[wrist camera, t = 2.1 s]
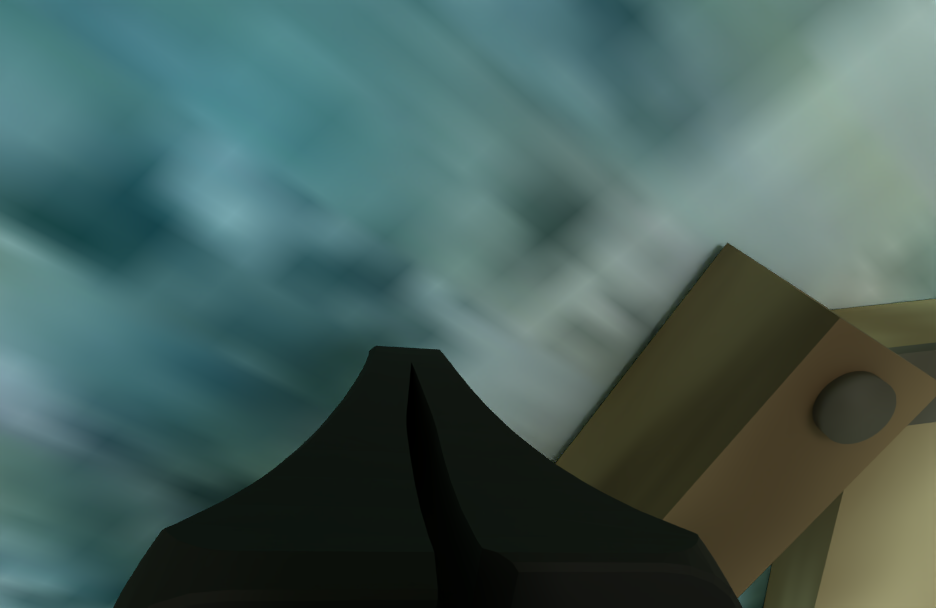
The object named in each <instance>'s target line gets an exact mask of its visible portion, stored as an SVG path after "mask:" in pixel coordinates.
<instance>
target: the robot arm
mask: <svg viewBox="0 0 936 608" xmlns="http://www.w3.org/2000/svg"><path fill="white" fill-rule="evenodd" d="M114 608H742V606H741V604H740V602H739V600H738V599H737V597H736V595H735V593H734V591H733V590H732V588H731V586H730V584H729V583H728V581H727V579H726V578H725V576H724V574H723V572H722V571H721V569H720V567H719V566H718V564H717V562H716V561H715V559H714V558H713V556H712V555H711V553H710V552H709V550H708V549H707V547H706V546H705V544H704V543H703V541H702V540H701V539H700V537H699V536H698V534H696V533H694V532H691V531H689V530H686V529H684V528H681V527H679V526H676V525H674V524H671V523H669V522H667V521H664V520H662V519H659V518H657V517H654V516H652V515H649V514H647V513H644V512H642V511H640V510H637V509H635V508H633V507H631V506H629V505H627V504H625V503H623V502H621V501H619V500H617V499H615V498H613V497H611V496H609V495H607V494H605V493H603V492H601V491H600V490H598V489H596V488H594V487H592V486H591V485H589V484H587V483H585V482H583V481H582V480H580V479H579V478H577V477H575V476H574V475H572V474H571V473H569V472H568V471H566V470H564V469H563V468H561V467H560V466H558V465H556V464H555V463H554V462H552V461H551V460H549V459H548V458H546V457H545V456H544V455H542V454H541V453H540V452H538V451H537V450H536V449H535V448H533V447H532V446H531V445H529V444H528V443H527V442H526V441H524V440H523V439H522V438H520V437H519V436H518V435H517V434H516V433H515V432H513V431H512V430H511V429H510V428H509V427H508V426H507V425H506V424H505V423H504V422H503V421H502V420H500V419H499V418H498V417H497V416H496V415H495V414H494V413H493V412H492V411H491V410H490V409H489V408H488V407H487V406H486V405H485V404H484V403H483V402H482V400H481V399H480V398H479V397H478V396H477V395H476V394H475V393H474V391H473V390H472V389H471V388H470V387H469V386H468V384H467V383H466V382H465V381H464V379H463V378H462V377H461V376H460V375H459V373H458V372H457V371H456V369H455V368H454V367H453V366H452V364H451V363H450V362H449V361H448V359H447V358H446V357H445V356H444V354H443V353H442V352H441V351H440V350H437V349H420V348H403V347H386V346H375V347H374V348H372V349H371V350H370V351H369V355H368V358H367V361H366V363H365V365H364V367H363V369H362V371H361V373H360V374H359V376H358V378H357V379H356V381H355V382H354V384H353V386H352V387H351V389H350V390H349V392H348V393H347V395H346V396H345V397H344V399H343V400H342V401H341V403H340V404H339V405H338V406H337V408H336V409H335V410H334V411H333V412H332V414H331V415H330V416H329V417H328V419H327V420H326V421H325V422H324V423H323V424H322V425H321V426H320V428H319V429H318V430H317V431H316V432H315V433H314V434H313V435H312V436H311V437H310V438H309V439H308V440H307V441H306V442H305V443H304V444H303V445H301V446H300V447H299V448H298V449H297V450H296V451H295V452H294V453H292V454H291V455H290V456H289V457H288V458H286V459H285V460H284V461H283V462H282V463H280V464H279V465H278V466H277V467H275V468H274V469H273V470H271V471H270V472H269V473H267V474H266V475H265V476H263V477H262V478H260V479H259V480H257V481H256V482H254V483H253V484H251V485H250V486H248V487H246V488H245V489H243V490H241V491H239V492H238V493H236V494H234V495H233V496H231V497H229V498H227V499H226V500H224V501H222V502H220V503H218V504H216V505H214V506H212V507H210V508H208V509H206V510H204V511H202V512H200V513H197V514H195V515H193V516H191V517H189V518H187V519H185V520H183V521H181V522H179V523H176V524H174V525H172V526H169V527H167V528H165V529H163V530H162V531H161V532H160V534H159V535H158V536H157V538H156V539H155V541H154V542H153V544H152V545H151V547H150V548H149V549H148V551H147V552H146V554H145V555H144V557H143V558H142V560H141V561H140V563H139V564H138V566H137V568H136V569H135V571H134V573H133V574H132V576H131V577H130V579H129V580H128V582H127V583H126V585H125V587H124V589H123V590H122V592H121V594H120V596H119V598H118V599H117V601H116V603H115V605H114Z"/></svg>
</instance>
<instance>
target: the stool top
mask: <svg viewBox="0 0 936 608" xmlns="http://www.w3.org/2000/svg"><path fill="white" fill-rule="evenodd" d="M831 311H833V312H834V313H836V314H837V315H839V316H840V317H842V318H843V319H845V320H846V321H848V322H849V323H851V324H852V325H854V326H855V327H857V328H858V329H860V330H861V331H863V332H864V333H866V334H868V335H869V336H871V337H872V338H874V339H875V340H877V341H878V342H880V343H881V344H883V345H884V346H886V347H887V348H889V349H890V350H892V351H893V352H895V353H896V354H898V355H899V356H901V357H902V358H904V359H905V360H907V361H908V362H910V363H911V364H913V365H914V366H916V367H917V368H919V369H920V370H922V371H923V372H925V373H926V374H928V375H929V376H931V377H932V378H934V379H935V380H936V299H929V300H919V301H910V302H901V303H891V304H882V305H873V306H864V307H854V308H845V309H836V310H831ZM763 608H936V397H935V398H934V399H933V400H932V401H931V402H930V403H929V404H928V405H927V406H926V407H925V408H924V409H923V410H922V411H921V412H920V413H919V414H918V415H917V416H916V417H915V418H914V419H913V420H912V421H911V422H910V423H909V424H908V425H907V426H906V427H905V428H904V429H903V430H902V431H901V432H900V433H899V435H898V436H897V437H896V438H895V439H894V440H893V441H892V442H891V443H890V444H889V445H888V446H887V447H886V448H885V449H884V450H883V451H882V452H881V453H880V454H879V455H878V456H877V457H876V458H875V459H874V460H873V461H872V462H871V463H870V464H869V465H868V466H867V467H866V468H865V469H864V470H863V471H862V472H861V473H860V474H859V475H858V476H857V477H856V478H855V479H854V480H853V481H852V482H851V483H850V484H849V485H848V486H847V487H846V488H845V489H844V490H843V491H842V492H841V493H840V494H839V496H838V497H837V498H836V499H835V500H834V501H833V502H832V503H831V504H830V505H829V506H828V507H827V508H826V509H825V510H824V511H823V512H822V513H821V514H820V515H819V516H818V517H817V518H816V519H815V520H814V521H813V522H812V523H811V524H810V525H809V526H808V527H807V528H806V529H805V530H804V531H803V532H802V533H801V534H800V535H799V536H798V537H797V538H796V539H795V540H794V541H793V542H792V543H791V544H790V545H789V546H788V547H787V548H786V549H785V550H784V551H783V552H782V553H781V554H780V555H779V557H778V558H777V559H776V560H775V561H774V562H773V563H772V567H771V572H770V577H769V582H768V587H767V592H766V597H765V602H764V607H763Z"/></svg>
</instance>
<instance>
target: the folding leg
mask: <svg viewBox="0 0 936 608" xmlns="http://www.w3.org/2000/svg"><path fill="white" fill-rule="evenodd" d="M935 397H936V380H935V379H934V378H932V377H931V376H929V375H928V374H926V373H925V372H923V371H922V370H920V369H919V368H917V367H916V366H914V365H913V364H911V363H910V362H908V361H907V360H905V359H904V358H902V357H901V356H899V355H898V354H896V353H895V352H893V351H892V350H890V349H889V348H887V347H886V346H884V345H883V344H881V343H880V342H878V341H877V340H875V339H874V338H872V337H871V336H869V335H868V334H866V333H864V332H863V331H861V330H860V329H858V328H857V327H855V326H854V325H852V324H851V323H849V322H848V321H846V320H845V319H843V318H842V317H840V316H839V315H837V314H836V313H834V312H833V311H831V310H830V309H828V308H827V307H825V306H824V305H822V304H821V303H819V302H818V301H816V300H815V299H813V298H812V297H810V296H809V295H807V294H805V293H804V292H802V291H801V290H799V289H798V288H796V287H795V286H793V285H792V284H790V283H789V282H787V281H785V280H784V279H782V278H781V277H779V276H778V275H776V274H775V273H773V272H772V271H770V270H769V269H767V268H765V267H764V266H762V265H761V264H759V263H758V262H756V261H755V260H753V259H752V258H750V257H749V256H747V255H746V254H744V253H742V252H741V251H739V250H738V249H736V248H735V247H733V246H732V245H730V244H729V243H727V244H726V245H725V246H724V248H723V249H722V250H721V252H720V253H719V254H718V255H717V257H716V258H715V259H714V261H713V262H712V263H711V264H710V266H709V267H708V268H707V270H706V271H705V272H704V273H703V275H702V276H701V277H700V279H699V280H698V281H697V282H696V284H695V285H694V286H693V288H692V289H691V290H690V291H689V293H688V294H687V295H686V297H685V298H684V299H683V300H682V302H681V303H680V304H679V306H678V307H677V308H676V309H675V311H674V312H673V313H672V315H671V316H670V317H669V318H668V320H667V321H666V322H665V324H664V325H663V326H662V327H661V329H660V330H659V331H658V333H657V334H656V335H655V336H654V338H653V339H652V340H651V342H650V343H649V344H648V345H647V347H646V348H645V349H644V351H643V352H642V353H641V354H640V356H639V357H638V358H637V360H636V361H635V362H634V363H633V365H632V366H631V367H630V368H629V370H628V371H627V372H626V374H625V375H624V376H623V377H622V379H621V380H620V381H619V383H618V384H617V385H616V386H615V388H614V389H613V390H612V392H611V393H610V394H609V395H608V397H607V398H606V399H605V401H604V402H603V403H602V404H601V406H600V407H599V408H598V410H597V411H596V412H595V413H594V415H593V416H592V417H591V419H590V420H589V421H588V422H587V424H586V425H585V426H584V428H583V429H582V430H581V431H580V433H579V434H578V435H577V437H576V438H575V439H574V440H573V442H572V443H571V444H570V446H569V447H568V448H567V449H566V451H565V452H564V453H563V455H562V456H561V457H560V458H559V460H558V461H557V462H556V465H558V466H560V467H561V468H563V469H564V470H566V471H568V472H569V473H571V474H572V475H574V476H575V477H577V478H579V479H580V480H582V481H583V482H585V483H587V484H589V485H591V486H592V487H594V488H596V489H598V490H600V491H601V492H603V493H605V494H607V495H609V496H611V497H613V498H615V499H617V500H619V501H621V502H623V503H625V504H627V505H629V506H631V507H633V508H635V509H637V510H640V511H642V512H644V513H647V514H649V515H652V516H654V517H657V518H659V519H662V520H664V521H667V522H669V523H671V524H674V525H676V526H679V527H681V528H684V529H686V530H689V531H691V532H694V533H696V534H698V536H699V537H700V539H701V540H702V541H703V543H704V544H705V546H706V547H707V549H708V550H709V552H710V553H711V555H712V556H713V558H714V559H715V561H716V562H717V564H718V566H719V567H720V569H721V571H722V572H723V574H724V576H725V578H726V579H727V581H728V583H729V584H730V586H731V588H732V590H733V591H734V593H735V595H736V597H737V598H738V597H739V596H740V595H741V594H742V593H743V592H744V591H745V590H746V589H747V588H748V587H749V586H750V585H751V584H752V583H753V582H754V581H755V580H756V579H757V578H758V577H759V576H760V575H761V574H762V573H763V572H764V571H765V570H766V569H767V568H768V567H769V566H770V565H771V564H772V563H773V562H774V561H775V560H776V559H777V558H778V557H779V555H780V554H781V553H782V552H783V551H784V550H785V549H786V548H787V547H788V546H789V545H790V544H791V543H792V542H793V541H794V540H795V539H796V538H797V537H798V536H799V535H800V534H801V533H802V532H803V531H804V530H805V529H806V528H807V527H808V526H809V525H810V524H811V523H812V522H813V521H814V520H815V519H816V518H817V517H818V516H819V515H820V514H821V513H822V512H823V511H824V510H825V509H826V508H827V507H828V506H829V505H830V504H831V503H832V502H833V501H834V500H835V499H836V498H837V497H838V496H839V494H840V493H841V492H842V491H843V490H844V489H845V488H846V487H847V486H848V485H849V484H850V483H851V482H852V481H853V480H854V479H855V478H856V477H857V476H858V475H859V474H860V473H861V472H862V471H863V470H864V469H865V468H866V467H867V466H868V465H869V464H870V463H871V462H872V461H873V460H874V459H875V458H876V457H877V456H878V455H879V454H880V453H881V452H882V451H883V450H884V449H885V448H886V447H887V446H888V445H889V444H890V443H891V442H892V441H893V440H894V439H895V438H896V437H897V436H898V435H899V433H900V432H901V431H902V430H903V429H904V428H905V427H906V426H907V425H908V424H909V423H910V422H911V421H912V420H913V419H914V418H915V417H916V416H917V415H918V414H919V413H920V412H921V411H922V410H923V409H924V408H925V407H926V406H927V405H928V404H929V403H930V402H931V401H932V400H933V399H934V398H935Z"/></svg>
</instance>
